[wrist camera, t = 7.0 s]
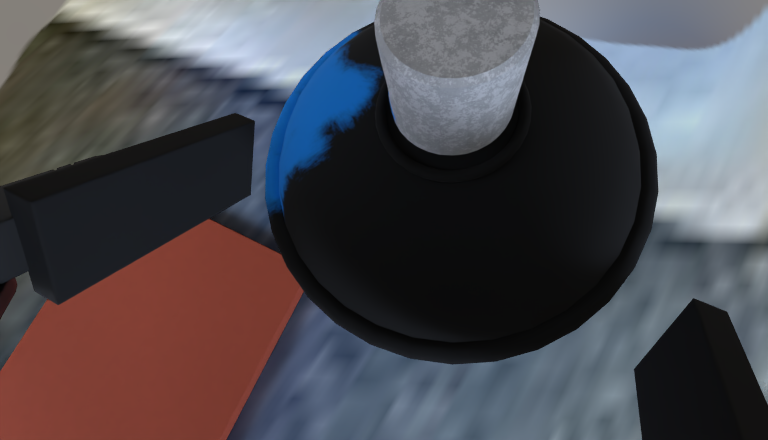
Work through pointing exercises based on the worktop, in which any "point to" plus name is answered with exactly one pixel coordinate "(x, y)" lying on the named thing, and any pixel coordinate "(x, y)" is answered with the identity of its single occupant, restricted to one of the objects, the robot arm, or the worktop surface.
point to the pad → (153, 345)
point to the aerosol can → (461, 180)
